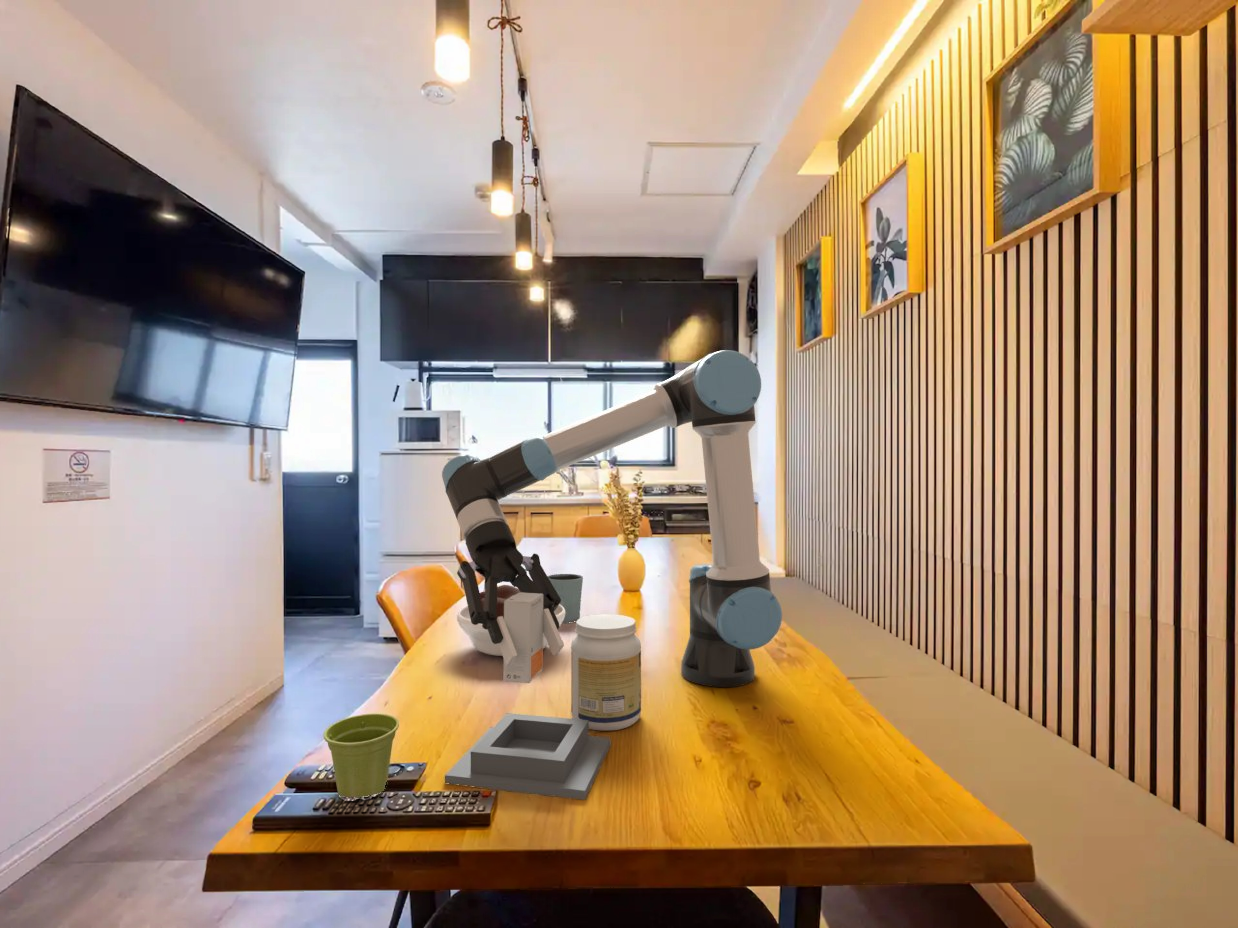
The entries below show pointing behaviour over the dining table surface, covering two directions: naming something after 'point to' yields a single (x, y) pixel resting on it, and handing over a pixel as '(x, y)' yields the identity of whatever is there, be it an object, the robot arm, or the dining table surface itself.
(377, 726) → the plant pot
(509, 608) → the skincare box
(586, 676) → the supplement tub
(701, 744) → the dining table surface
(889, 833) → the dining table surface
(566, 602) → the teal cup
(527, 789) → the slate stand
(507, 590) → the bowl of chocolate pudding
